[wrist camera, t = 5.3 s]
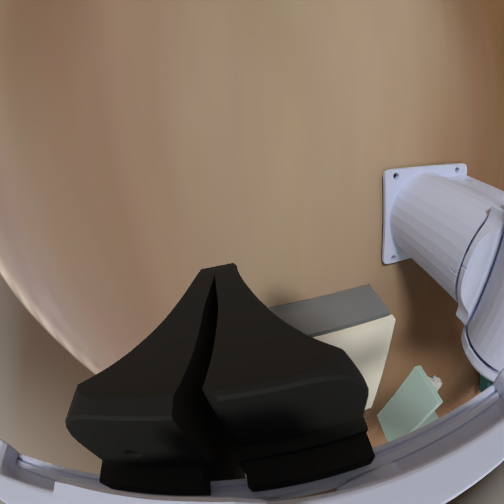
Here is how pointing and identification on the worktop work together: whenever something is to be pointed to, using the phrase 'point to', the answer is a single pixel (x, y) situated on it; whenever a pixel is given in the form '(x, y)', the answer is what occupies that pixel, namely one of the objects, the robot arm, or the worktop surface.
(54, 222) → the worktop surface
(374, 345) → the lid
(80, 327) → the worktop surface
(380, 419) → the l-shaped corner panel
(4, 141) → the worktop surface
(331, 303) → the storage box
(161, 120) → the worktop surface
